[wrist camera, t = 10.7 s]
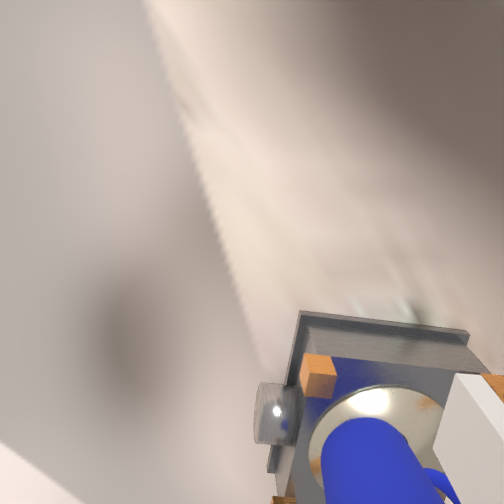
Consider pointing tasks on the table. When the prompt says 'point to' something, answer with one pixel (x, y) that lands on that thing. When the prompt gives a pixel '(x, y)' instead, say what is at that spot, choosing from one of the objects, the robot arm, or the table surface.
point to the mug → (377, 467)
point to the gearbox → (358, 392)
